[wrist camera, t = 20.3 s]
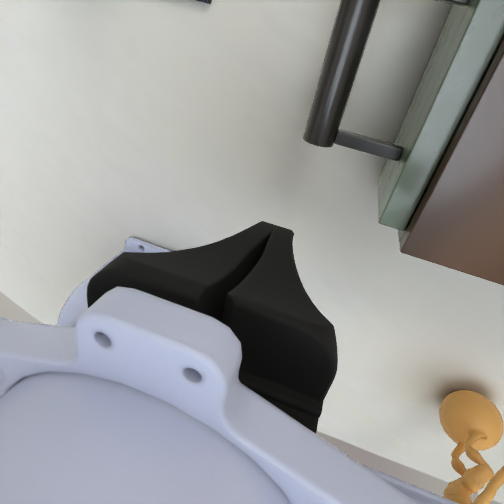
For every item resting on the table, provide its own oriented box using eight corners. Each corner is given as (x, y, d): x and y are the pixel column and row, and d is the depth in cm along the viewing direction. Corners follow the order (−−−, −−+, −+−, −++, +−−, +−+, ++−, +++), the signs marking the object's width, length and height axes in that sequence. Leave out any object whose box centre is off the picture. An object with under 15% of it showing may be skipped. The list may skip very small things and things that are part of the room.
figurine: (457, 434, 29) (499, 631, 19) (389, 404, 30) (395, 579, 20) (527, 375, 25) (627, 593, 15) (444, 341, 25) (487, 527, 16)
